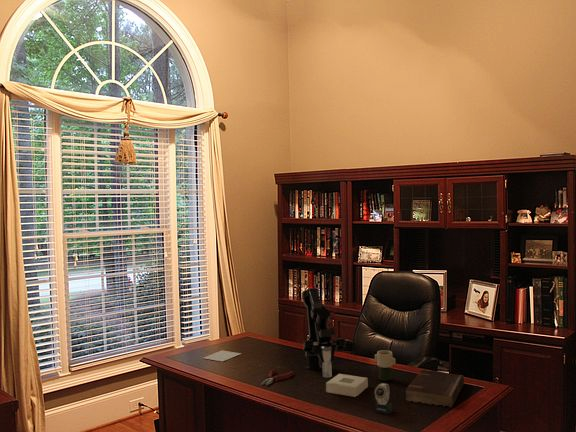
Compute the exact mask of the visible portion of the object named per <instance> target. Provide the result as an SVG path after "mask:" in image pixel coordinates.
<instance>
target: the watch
mask: <svg viewBox="0 0 576 432" xmlns="http://www.w3.org/2000/svg"><path fill="white" fill-rule="evenodd" d="M390 392H391V391H390V386H389V384H388V383H383V382H382V383H381V382H380V384H378V385H377V386H375V389H374V396H375V400H376V403H375V404H374V413H376V412H378V413H377V414H381V413H383V414H382V415H386V414H389V413H390V414H391V413H392V412H393V403H392V402H389V399H390V394H391V393H390ZM390 414H389V415H390Z"/></svg>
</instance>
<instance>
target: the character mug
mask: <svg viewBox="0 0 576 432" xmlns="http://www.w3.org/2000/svg"><path fill="white" fill-rule="evenodd" d="M374 361H375V362H377V364H376V365H377V366H378V367H379V369H378V380H380V381H386V382H387V381H391V380H393V373H392V369H391V367H393V366H394V365H396V358H395V357H393V352H392V351H391V350H386V349H385V350H378V351H377V353H376V354H374Z"/></svg>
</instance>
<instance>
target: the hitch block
mask: <svg viewBox="0 0 576 432" xmlns="http://www.w3.org/2000/svg"><path fill="white" fill-rule="evenodd" d="M368 380H369V379H368V377H363V376H357V375H351V374H345V373H343V374H342V373H338V374H337V375H335V376H334V377H333V378H331V379H329V380H328V381H326V383H325V391H326V392H325V393H330V394H334V395H335V394H336V395H342V396H347V397H352V398H353V397H354V398H357V397H358V396H359V395H360V394H361V393H362V392H364V391H365V389H367V388H368V387H369V383H368V382H369V381H368ZM356 396H357V397H356Z"/></svg>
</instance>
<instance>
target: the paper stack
mask: <svg viewBox="0 0 576 432" xmlns="http://www.w3.org/2000/svg"><path fill="white" fill-rule="evenodd" d="M239 355H242V353H241V352H240V353H239V352H233V351H228V350H223V349H221V350H220V351H217V352H213V353H212V354H210V355H207V356H205V357H203V359H207V360H212V361H217V362H225V361H227V360H231V359H232V358H234V357H236V356H239Z"/></svg>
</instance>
